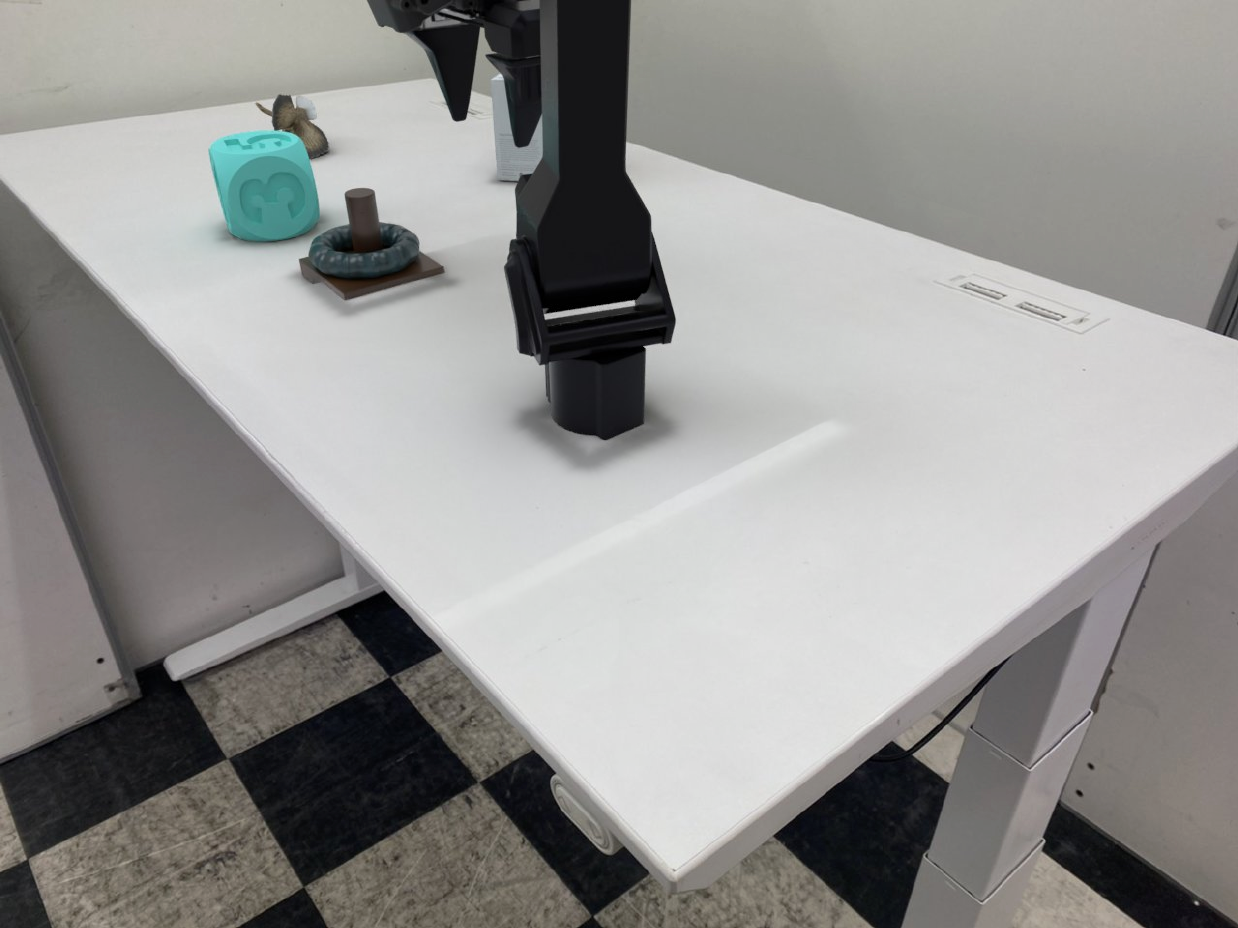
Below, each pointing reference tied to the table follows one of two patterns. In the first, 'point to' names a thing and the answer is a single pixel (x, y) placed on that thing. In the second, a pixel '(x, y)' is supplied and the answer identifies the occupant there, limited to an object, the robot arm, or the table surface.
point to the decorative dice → (265, 185)
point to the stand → (368, 241)
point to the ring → (364, 265)
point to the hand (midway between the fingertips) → (489, 133)
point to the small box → (507, 154)
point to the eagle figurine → (298, 122)
